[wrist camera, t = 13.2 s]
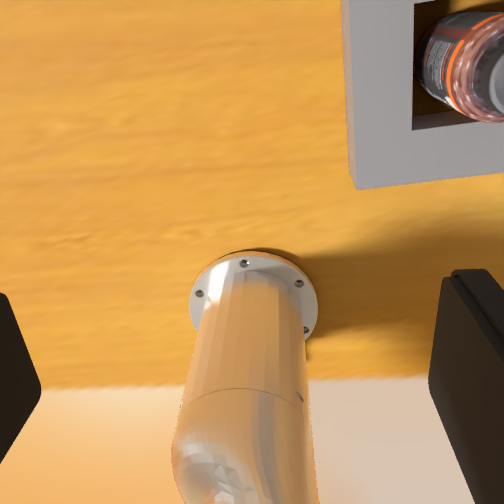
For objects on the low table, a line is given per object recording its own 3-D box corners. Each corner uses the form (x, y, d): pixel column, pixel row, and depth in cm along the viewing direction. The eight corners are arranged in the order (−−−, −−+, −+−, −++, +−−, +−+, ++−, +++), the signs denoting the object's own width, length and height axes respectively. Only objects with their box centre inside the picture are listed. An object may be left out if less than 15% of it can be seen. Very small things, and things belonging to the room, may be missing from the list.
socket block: (552, 147, 36) (581, 162, 33) (349, 172, 38) (356, 190, 34) (594, -101, 28) (638, -115, 25) (338, -54, 30) (346, -61, 27)
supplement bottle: (423, 111, 35) (480, 153, 25) (402, 34, 33) (456, 48, 23) (503, 77, 34) (596, 109, 24) (487, -6, 31) (584, -10, 21)
